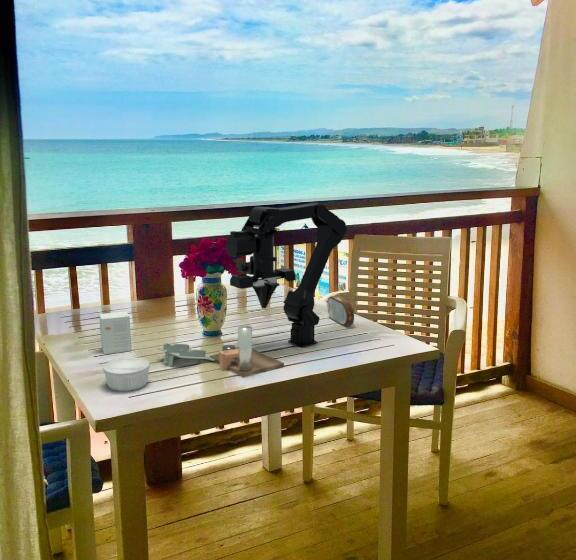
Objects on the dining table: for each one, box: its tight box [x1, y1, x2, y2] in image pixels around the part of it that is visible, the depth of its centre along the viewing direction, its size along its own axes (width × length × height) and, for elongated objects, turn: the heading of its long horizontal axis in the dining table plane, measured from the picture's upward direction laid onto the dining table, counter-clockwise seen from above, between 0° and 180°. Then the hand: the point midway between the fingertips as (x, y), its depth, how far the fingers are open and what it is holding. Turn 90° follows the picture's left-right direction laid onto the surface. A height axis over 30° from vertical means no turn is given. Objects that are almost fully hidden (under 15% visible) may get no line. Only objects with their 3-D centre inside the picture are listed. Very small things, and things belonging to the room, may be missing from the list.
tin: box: [327, 294, 355, 327], centre depth 212 cm, size 15×3×8 cm, turn 22°
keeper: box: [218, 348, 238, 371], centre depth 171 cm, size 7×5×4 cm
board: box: [209, 347, 285, 378], centre depth 175 cm, size 13×17×1 cm
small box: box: [98, 311, 132, 355], centre depth 184 cm, size 8×6×10 cm
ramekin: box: [102, 356, 151, 392], centre depth 159 cm, size 11×11×5 cm
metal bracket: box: [157, 342, 215, 368], centre depth 177 cm, size 14×6×15 cm
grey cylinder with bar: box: [221, 324, 253, 371], centre depth 171 cm, size 16×4×11 cm, turn 26°
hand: (263, 308), depth 181 cm, fingers closed
